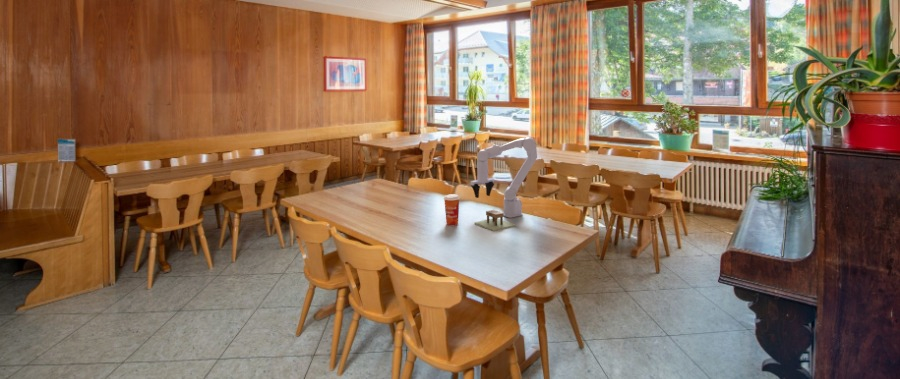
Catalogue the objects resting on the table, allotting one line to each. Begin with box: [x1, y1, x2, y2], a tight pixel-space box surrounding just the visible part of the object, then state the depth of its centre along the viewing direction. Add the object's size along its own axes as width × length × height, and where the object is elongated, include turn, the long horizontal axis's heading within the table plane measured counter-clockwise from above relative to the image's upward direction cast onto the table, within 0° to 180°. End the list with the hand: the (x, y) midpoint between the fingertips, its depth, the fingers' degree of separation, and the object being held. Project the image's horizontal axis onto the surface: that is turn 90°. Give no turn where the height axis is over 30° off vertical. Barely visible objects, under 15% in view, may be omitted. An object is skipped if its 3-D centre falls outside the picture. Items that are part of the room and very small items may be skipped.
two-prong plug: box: [485, 209, 505, 226], centre depth 244 cm, size 8×5×6 cm, turn 34°
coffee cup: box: [443, 193, 461, 226], centre depth 247 cm, size 8×8×15 cm
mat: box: [474, 218, 517, 232], centre depth 245 cm, size 14×16×1 cm
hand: (482, 196), depth 262 cm, fingers open, 7 cm apart
